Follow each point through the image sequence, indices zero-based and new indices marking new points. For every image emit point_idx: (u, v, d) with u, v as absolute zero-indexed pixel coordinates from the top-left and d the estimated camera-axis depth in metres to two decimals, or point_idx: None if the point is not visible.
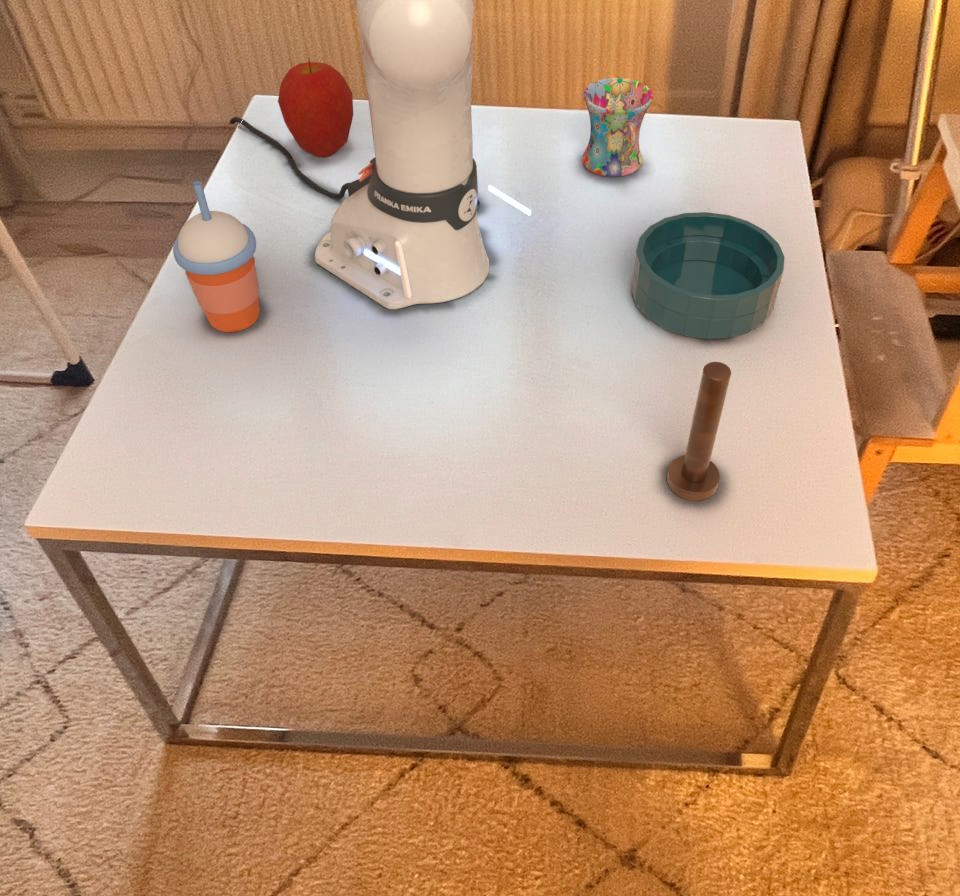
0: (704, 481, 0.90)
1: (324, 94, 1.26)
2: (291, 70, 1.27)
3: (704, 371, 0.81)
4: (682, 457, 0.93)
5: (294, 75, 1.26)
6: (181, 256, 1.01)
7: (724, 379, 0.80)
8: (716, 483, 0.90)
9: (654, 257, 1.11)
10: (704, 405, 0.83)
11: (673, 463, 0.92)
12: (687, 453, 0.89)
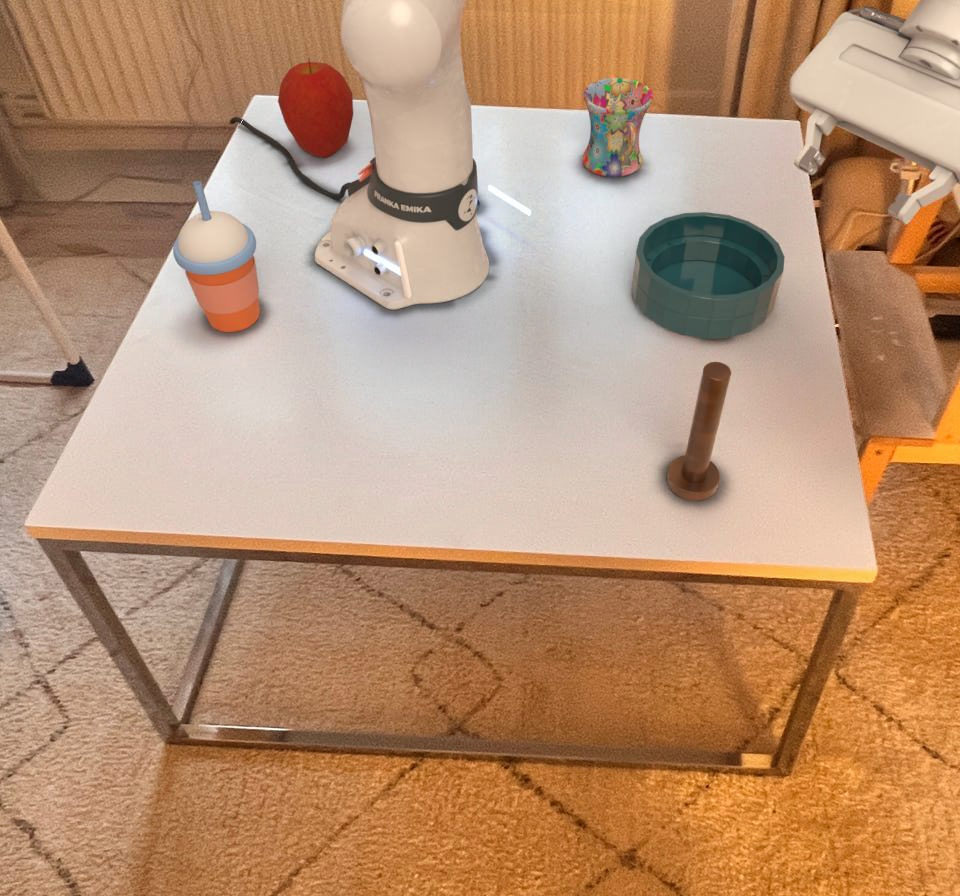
0: (704, 481, 0.90)
1: (324, 94, 1.26)
2: (291, 70, 1.27)
3: (704, 371, 0.81)
4: (682, 457, 0.93)
5: (294, 75, 1.26)
6: (181, 256, 1.01)
7: (724, 379, 0.80)
8: (716, 483, 0.90)
9: (654, 257, 1.11)
10: (704, 405, 0.83)
11: (673, 463, 0.92)
12: (687, 453, 0.89)
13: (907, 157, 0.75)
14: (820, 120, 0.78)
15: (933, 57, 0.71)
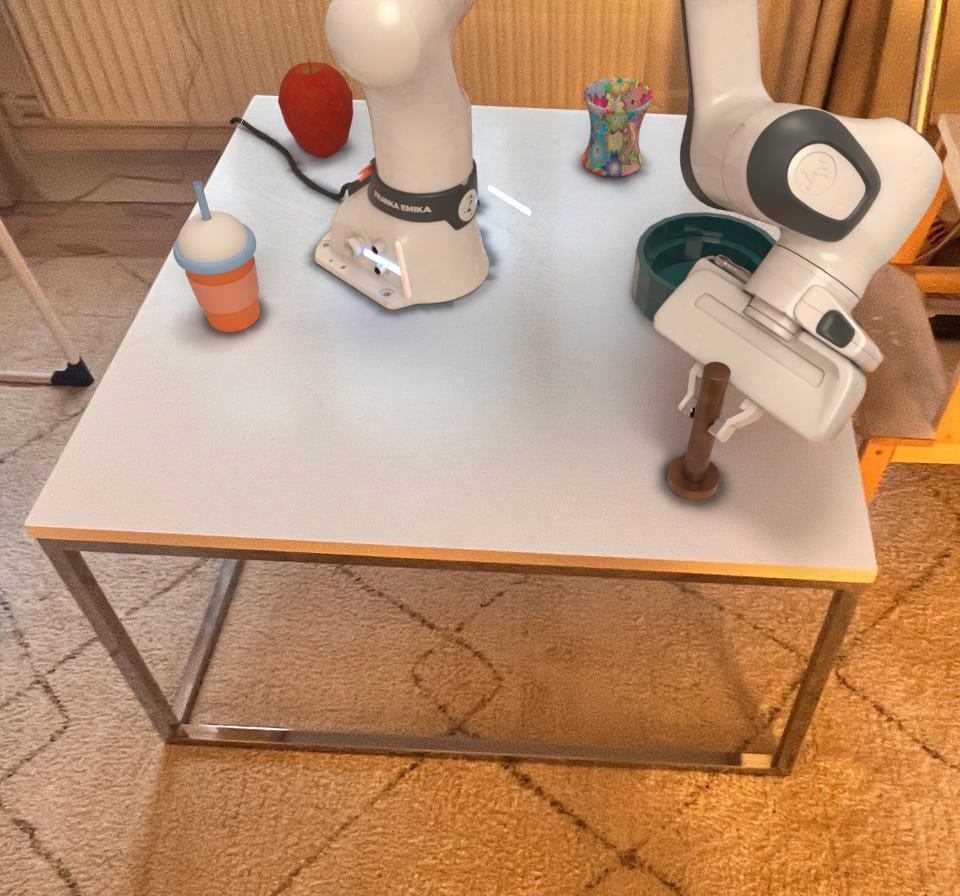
0: (704, 481, 0.90)
1: (324, 94, 1.26)
2: (291, 70, 1.27)
3: (704, 371, 0.81)
4: (682, 457, 0.93)
5: (294, 75, 1.26)
6: (181, 256, 1.01)
7: (724, 379, 0.80)
8: (716, 483, 0.90)
9: (654, 257, 1.11)
10: (704, 405, 0.83)
11: (673, 463, 0.92)
12: (687, 453, 0.89)
13: None
14: (700, 373, 0.85)
15: (767, 321, 0.80)
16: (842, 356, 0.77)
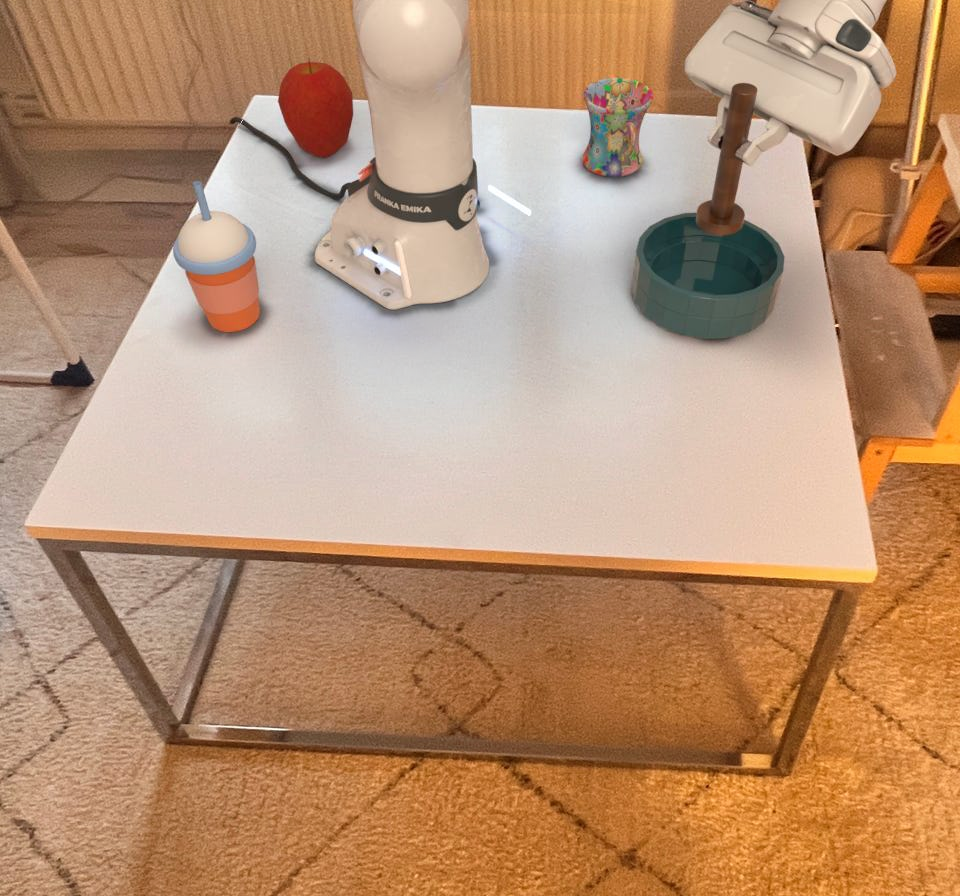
0: (730, 217, 0.98)
1: (324, 94, 1.26)
2: (291, 70, 1.27)
3: (733, 89, 0.89)
4: (709, 201, 1.00)
5: (294, 75, 1.26)
6: (181, 256, 1.01)
7: (751, 94, 0.88)
8: (741, 219, 0.98)
9: (654, 257, 1.11)
10: (732, 126, 0.90)
11: (701, 205, 1.00)
12: (715, 187, 0.96)
13: None
14: (728, 104, 0.93)
15: (791, 41, 0.88)
16: (859, 60, 0.84)
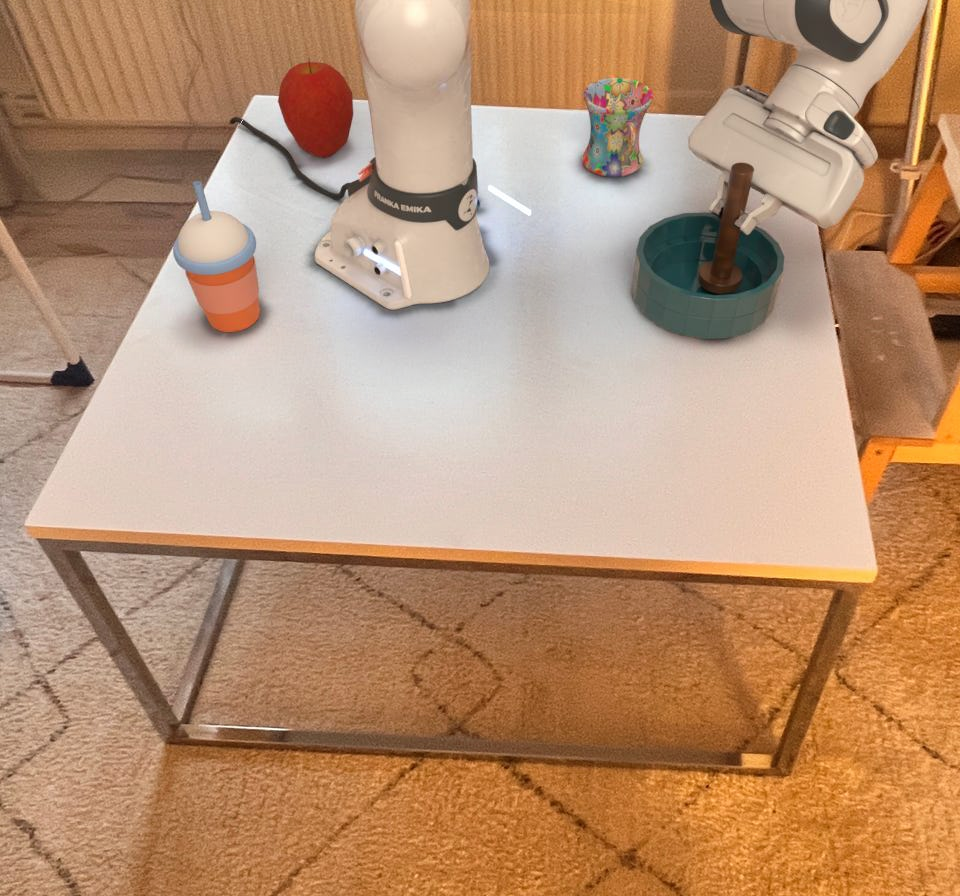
0: (729, 278, 1.09)
1: (324, 94, 1.26)
2: (291, 70, 1.27)
3: (732, 168, 0.99)
4: (711, 262, 1.11)
5: (294, 75, 1.26)
6: (181, 256, 1.01)
7: (749, 174, 0.98)
8: (739, 279, 1.08)
9: (654, 257, 1.11)
10: (732, 200, 1.01)
11: (703, 266, 1.10)
12: (716, 251, 1.07)
13: None
14: (727, 179, 1.03)
15: (784, 126, 0.98)
16: (844, 147, 0.95)
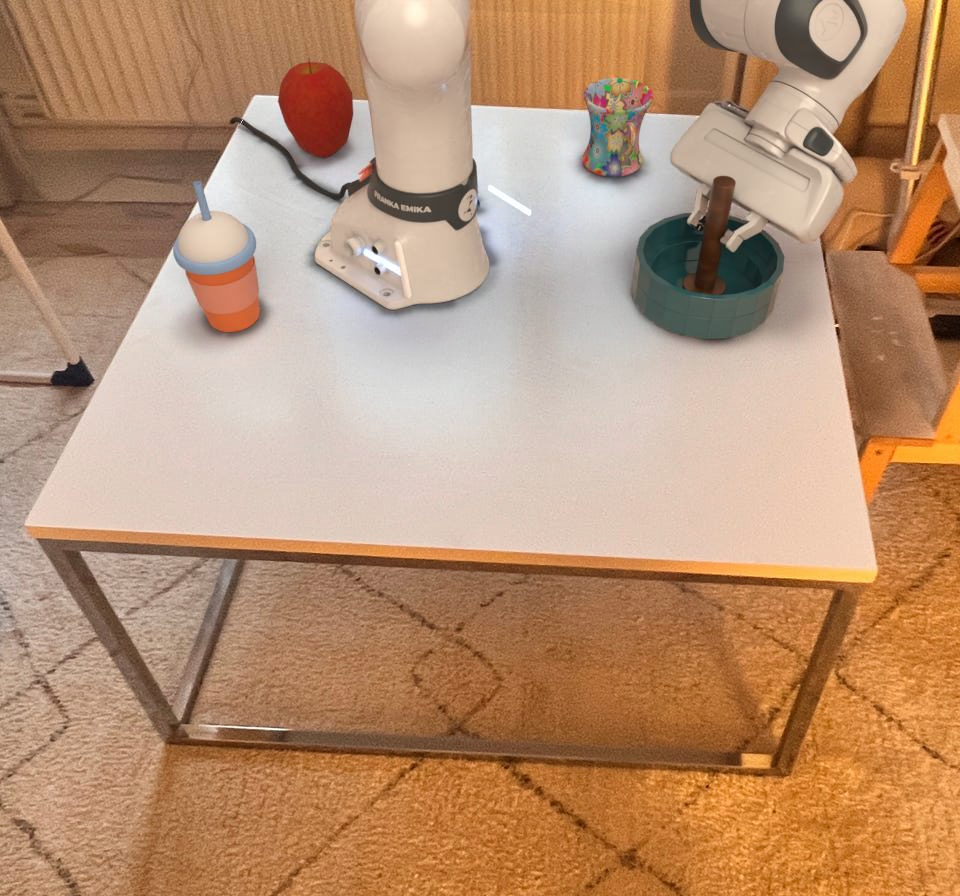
0: (713, 289, 1.09)
1: (324, 94, 1.26)
2: (291, 70, 1.27)
3: (714, 182, 1.00)
4: (694, 273, 1.11)
5: (294, 75, 1.26)
6: (181, 256, 1.01)
7: (730, 187, 0.99)
8: (723, 291, 1.09)
9: (654, 257, 1.11)
10: (714, 213, 1.01)
11: (687, 277, 1.11)
12: (699, 263, 1.07)
13: (751, 212, 1.03)
14: (705, 191, 1.04)
15: (764, 142, 0.99)
16: (824, 164, 0.95)
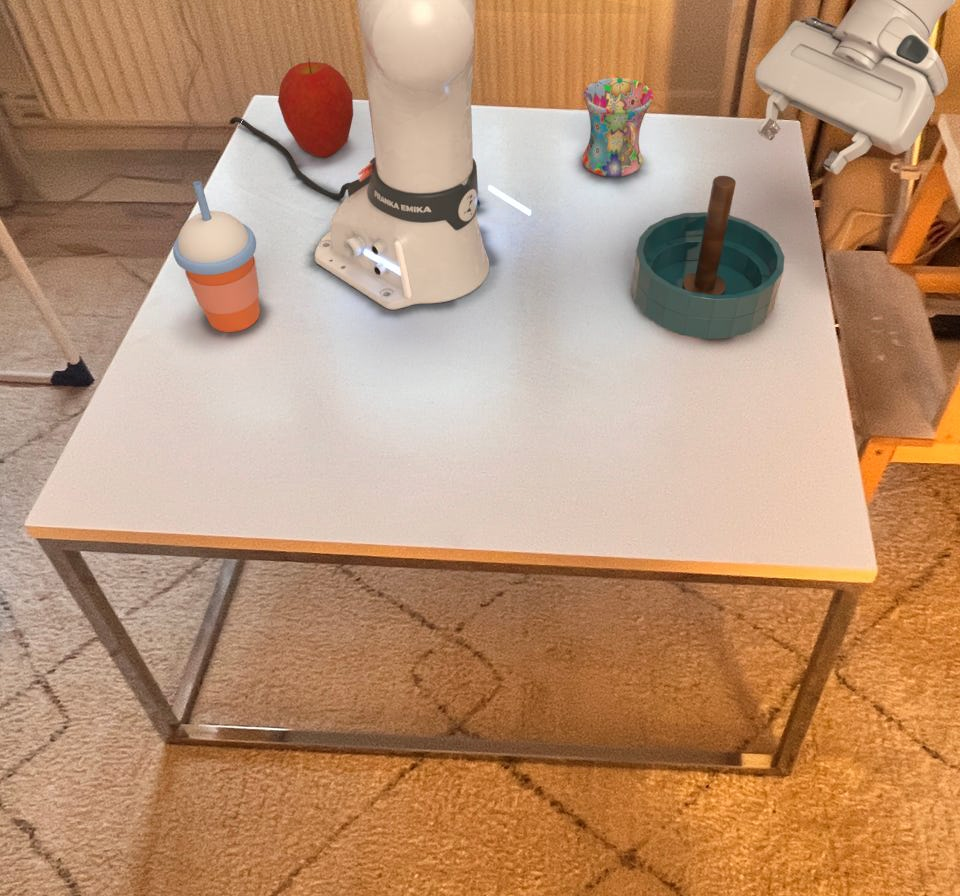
0: (713, 289, 1.09)
1: (324, 94, 1.26)
2: (291, 70, 1.27)
3: (714, 182, 1.00)
4: (694, 273, 1.11)
5: (294, 75, 1.26)
6: (181, 256, 1.01)
7: (730, 187, 0.99)
8: (723, 291, 1.09)
9: (654, 257, 1.11)
10: (714, 213, 1.01)
11: (687, 277, 1.11)
12: (699, 263, 1.07)
13: (838, 126, 1.04)
14: (776, 99, 1.06)
15: (855, 53, 0.99)
16: (918, 71, 0.96)
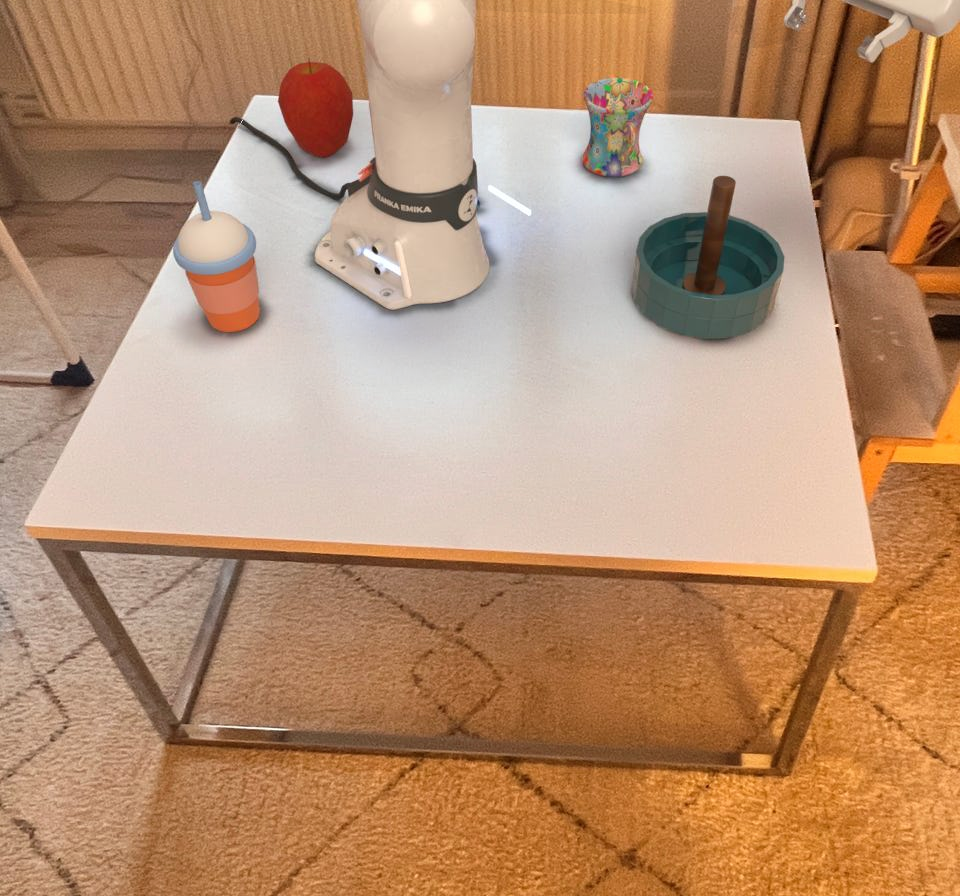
0: (713, 289, 1.09)
1: (324, 94, 1.26)
2: (291, 70, 1.27)
3: (714, 182, 1.00)
4: (694, 273, 1.11)
5: (294, 75, 1.26)
6: (181, 256, 1.01)
7: (730, 187, 0.99)
8: (723, 291, 1.09)
9: (654, 257, 1.11)
10: (714, 213, 1.01)
11: (687, 277, 1.11)
12: (699, 263, 1.07)
13: (873, 11, 0.94)
14: None
15: None
16: None
